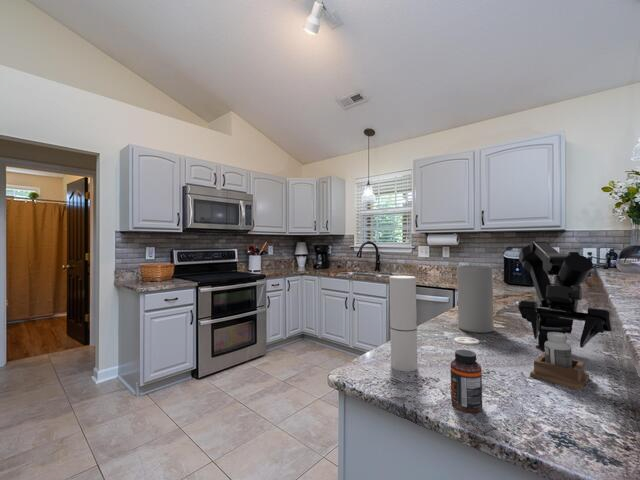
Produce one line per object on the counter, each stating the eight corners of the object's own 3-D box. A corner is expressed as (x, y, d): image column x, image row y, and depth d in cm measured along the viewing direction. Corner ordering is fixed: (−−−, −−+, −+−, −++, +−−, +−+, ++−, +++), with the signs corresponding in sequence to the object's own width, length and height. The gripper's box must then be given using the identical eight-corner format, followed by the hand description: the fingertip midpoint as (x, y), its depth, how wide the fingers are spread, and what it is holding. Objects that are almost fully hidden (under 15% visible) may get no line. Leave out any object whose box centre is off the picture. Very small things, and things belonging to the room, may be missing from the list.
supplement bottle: (447, 398, 67) (446, 347, 67) (475, 399, 66) (474, 347, 67) (456, 413, 61) (455, 356, 61) (487, 415, 60) (486, 357, 61)
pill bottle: (576, 373, 76) (574, 334, 76) (568, 379, 73) (565, 338, 74) (551, 366, 81) (548, 329, 81) (542, 372, 78) (539, 333, 78)
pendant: (450, 339, 109) (449, 337, 109) (479, 338, 110) (479, 336, 110) (460, 346, 102) (460, 343, 102) (491, 344, 103) (491, 342, 103)
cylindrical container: (417, 363, 87) (416, 275, 88) (417, 373, 81) (415, 278, 81) (392, 360, 90) (390, 275, 90) (389, 369, 83) (388, 277, 83)
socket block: (541, 366, 84) (540, 351, 84) (589, 377, 76) (588, 361, 76) (530, 376, 77) (529, 361, 77) (581, 390, 70) (580, 373, 70)
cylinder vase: (451, 327, 124) (450, 266, 125) (472, 323, 130) (471, 264, 130) (478, 335, 113) (477, 268, 113) (500, 331, 118) (499, 266, 119)
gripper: (519, 271, 87) (507, 317, 79) (608, 276, 73) (604, 331, 65) (528, 296, 92) (517, 340, 85) (613, 304, 78) (609, 358, 71)
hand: (557, 342), depth 76 cm, fingers open, 9 cm apart
